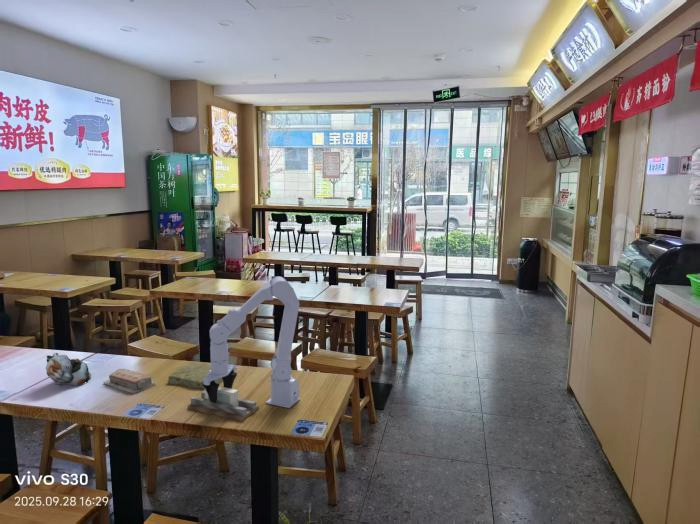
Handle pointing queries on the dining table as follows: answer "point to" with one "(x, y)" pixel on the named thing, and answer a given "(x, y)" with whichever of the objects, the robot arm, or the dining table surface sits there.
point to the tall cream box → (225, 396)
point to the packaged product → (129, 381)
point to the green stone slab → (192, 375)
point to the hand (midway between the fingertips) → (220, 397)
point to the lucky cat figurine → (67, 370)
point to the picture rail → (224, 407)
